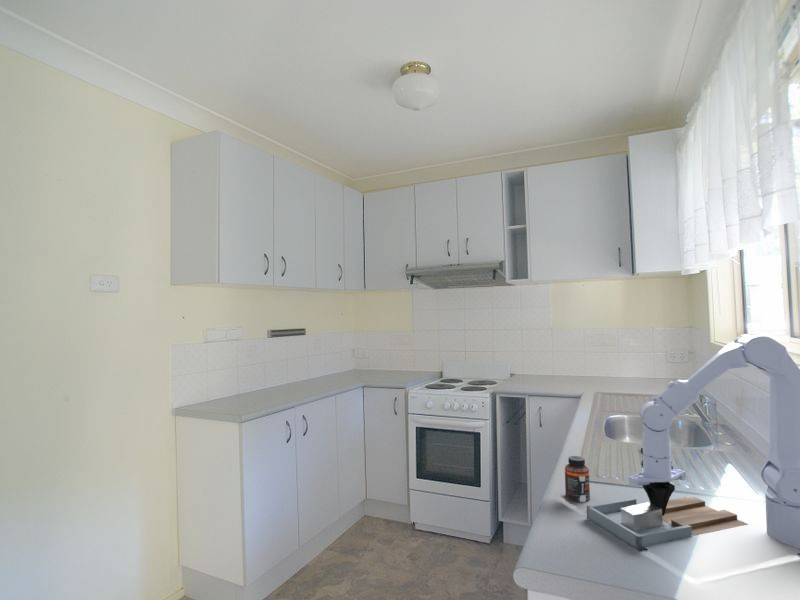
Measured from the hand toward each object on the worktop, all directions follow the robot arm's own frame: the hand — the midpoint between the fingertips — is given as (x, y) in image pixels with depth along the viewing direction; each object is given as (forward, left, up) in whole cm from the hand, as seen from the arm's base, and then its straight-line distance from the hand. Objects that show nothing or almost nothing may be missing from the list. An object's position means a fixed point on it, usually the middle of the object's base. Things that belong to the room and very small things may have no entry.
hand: (658, 514), depth 106 cm
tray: (0, +6, -2) cm, 7 cm away
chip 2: (0, +3, -2) cm, 4 cm away
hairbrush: (+36, -35, -3) cm, 50 cm away
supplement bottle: (+17, +9, -3) cm, 19 cm away
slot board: (0, -9, -2) cm, 9 cm away
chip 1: (0, +7, -2) cm, 7 cm away
